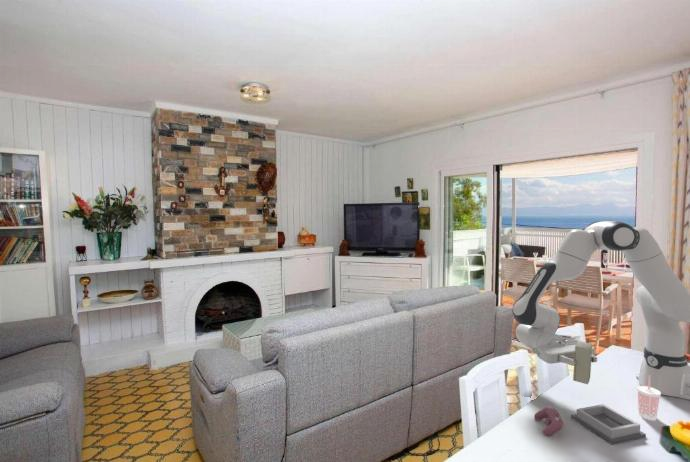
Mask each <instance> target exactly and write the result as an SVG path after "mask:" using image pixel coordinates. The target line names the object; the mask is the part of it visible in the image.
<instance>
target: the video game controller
mask: <svg viewBox="0 0 690 462" xmlns="http://www.w3.org/2000/svg"><path fill="white" fill-rule="evenodd" d="M533 418H534V419H535V420H536V421H542V420H545V421H544V422H545V424H546V425H547V426H546V427H544V429H543V430H542V434H543V435H544V436H547V437H548V436H553V435H555V434H556V433H558V432H559V431H562V429H563V427H564V421H563V420H562V416H561V414H560V413H559V411H558V410H557V409H555V408H554V407H552V406H548V405H547V406H545V407H544V408H543V409H541V410H538V411H537V412H535V414H534V416H533Z"/></svg>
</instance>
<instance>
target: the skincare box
mask: <svg viewBox="0 0 690 462" xmlns="http://www.w3.org/2000/svg"><path fill="white" fill-rule="evenodd" d="M592 346H593V344H592V343H590V342H586V341H585V342H584V341H582V342H581V340H579V341H577V343H576V345H575V357H574V359H575V360H576V361H577V362H576V365H573V376H572V377H573V379H572V381H574V382H577V383H580V384H585V385H589V382H590V381H591V380H590V379H591V371H592V370H591V369H592V362H591V356H592Z"/></svg>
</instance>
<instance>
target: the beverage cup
mask: <svg viewBox="0 0 690 462" xmlns="http://www.w3.org/2000/svg"><path fill="white" fill-rule="evenodd" d="M636 391H637V406H638V408H637V409H638V415H639V417H641V418H642V419H645V420H648V421H656V420H657V417H658V411H659V403H660V397H661V396H662V394H661V392H660V391H658V390H657V389H654V388H652V387H650V375H649V378H648V386H641V385H638V386H636Z"/></svg>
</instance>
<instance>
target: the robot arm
mask: <svg viewBox="0 0 690 462" xmlns="http://www.w3.org/2000/svg"><path fill="white" fill-rule="evenodd" d="M598 249H599V250H602V251H613V252H614V251H615V252H622V253H623V256H624V257H625V259H626V262H627V264H628V266H629V268H630V269H631V272H632V273H633V275H634V277H635V279H636V281H638V282H639V283H640V284H641V285H640V286H639V287H638V288H637V290H636V293H635V297H636V300H637V302H638V303H639V305H640V307H641V310H642V314H643V315H642V316H643V319H644V324H645V333H646V334H645V347H644V348H643V349H644V350H643V357H644V358H641V362H640V367H639V373H637V374H636V376H635V377H636V378H637V380H638V384H639V386H648V378H649V375H650V387H652V388H654V389H657V390H658V391H660V392H661V395H664V396H668V397H675V398H680V399H684V400H687V401H690V365H689V364H688V361H690V354H688V353H685V350H686V349H685V346H686V345H685V343H686V333H685V332H684V330H683V329H682V327H681V325H680V323H679V322H682V323H690V290H689V289H688V287H686V285H685V284H684V283H683V282H682V280H681V279H680V278H679V277H678V276H677V274H676V273H675V272H674V270H673V269H672V267H671V266H670V264H669V262H668V260H667V259H666V256H665V254H664V253H663V250H662V249H661V247H660V245H659V244H658V242H657V240H656V238H655V237H654V236H653V235H652V233H650V231H649V230H648V229H647V228H644V227H640V226H639V227H638V226H635V227H633V226H631V225H630V224H628V223H626V222H622V221H614V220H605V221H593V222H591V223H588V224H587V225H585V226H584V228H582V229H581V228H579V229H576V228H575V229H571V230H570V231H569V232H568V233H567V234H566V235H565V237H564V238H563V239H562V241H561V243H560V245H559V246H558V249H557V250H556V251H555V252H556V253H555V254H554V256H553V257H552V258H551V259H550V260H549V261H548V262H545V263H544V264H543V265H542V266H541V267H540V268H539V269H538V270H537V272H536V273H535V275H534V276H533V278H532V280H531V281H530V283H529V284H528V285H527V287H526V289H525V290H524V292H522V295H520V297H519V298H518V299H517V300H516V301H515V302H514V304H513V305H512V310H511V312H512V315H513V318H514V320H515V321H516V322H517V323H518V325H517V327H516V329H515V335H516V338H517V340H518V341H519V342H520V343H521V344H522V345H523V346H525V347H527V348H529V349H531V352H532V353H533V354H535V355H536V357H537V358H538V359H540V360H542V361H543V362H544V363H546V364H550V365H551V364H558V363H562V364H567V365H570V366H573V367H574V365H576V362H577V361H576V360H575V359H574V357H575V345H576V343H577V341H581V340H578V339H576V338H575V337H574V336H572V335H563V334H562V335H561V334H557V331H558V328H559V326H560V322H561V315H560V313H559V311H558V310H557V309H555V308H553V307H550V306H549V305H545V304H543V303H539V301H540V299H541V298H542V296H543V295H544V293H545V292H546V290H547V288H548V287H549V286H550V284H552V283H554V282H556V281H570V280H574V279H578V278H579V277H581V275H582V274H583V273H584V272H585V270H586V269H587V266H588V264H589V261H590V259H591V257H592V255H593V254H594V253H595V251H597V250H598ZM581 342H583V341H581ZM591 363H598V357H597V356H596V349H595V347H594V346H593V345H592V356H591Z"/></svg>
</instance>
